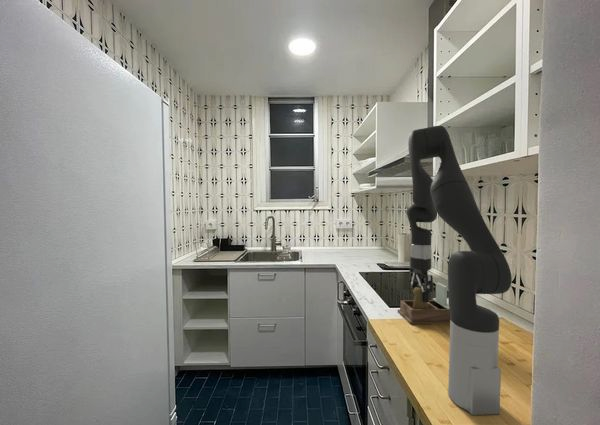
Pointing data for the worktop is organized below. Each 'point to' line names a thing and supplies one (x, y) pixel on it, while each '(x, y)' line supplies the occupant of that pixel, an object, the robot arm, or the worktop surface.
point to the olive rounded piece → (418, 299)
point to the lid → (441, 295)
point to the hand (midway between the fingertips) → (419, 298)
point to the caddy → (424, 313)
